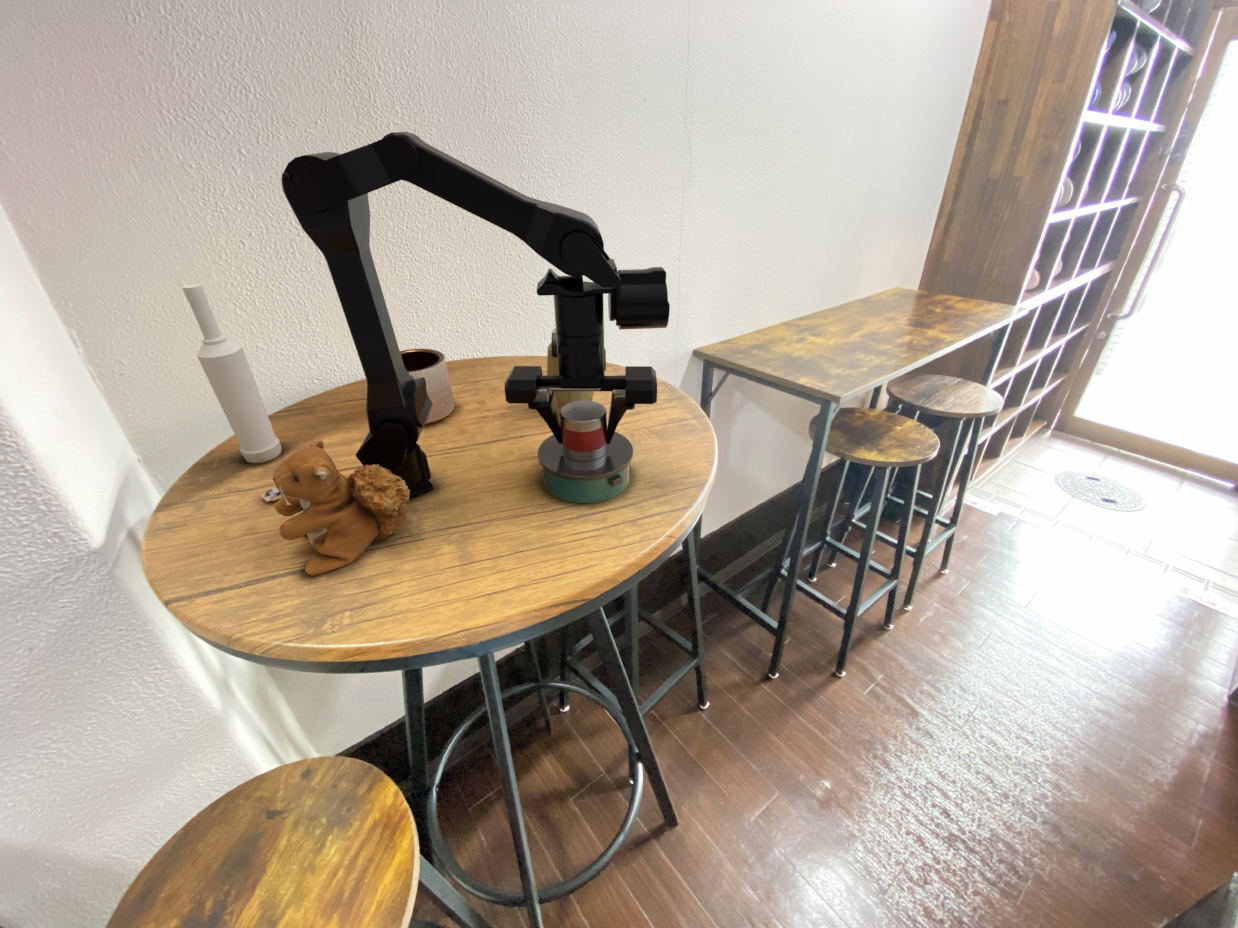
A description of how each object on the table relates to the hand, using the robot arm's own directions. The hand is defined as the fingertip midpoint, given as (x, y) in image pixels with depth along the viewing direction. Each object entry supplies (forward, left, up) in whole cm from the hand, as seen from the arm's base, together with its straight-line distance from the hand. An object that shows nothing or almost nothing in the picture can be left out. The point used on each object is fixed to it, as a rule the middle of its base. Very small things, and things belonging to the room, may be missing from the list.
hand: (584, 442), depth 72 cm
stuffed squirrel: (-29, +7, -6) cm, 30 cm away
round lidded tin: (0, 0, -6) cm, 6 cm away
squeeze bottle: (+10, +18, -6) cm, 21 cm away
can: (0, 0, -1) cm, 1 cm away
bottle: (-34, +36, -6) cm, 50 cm away
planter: (-10, +34, -6) cm, 36 cm away
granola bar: (-33, +23, -6) cm, 41 cm away
